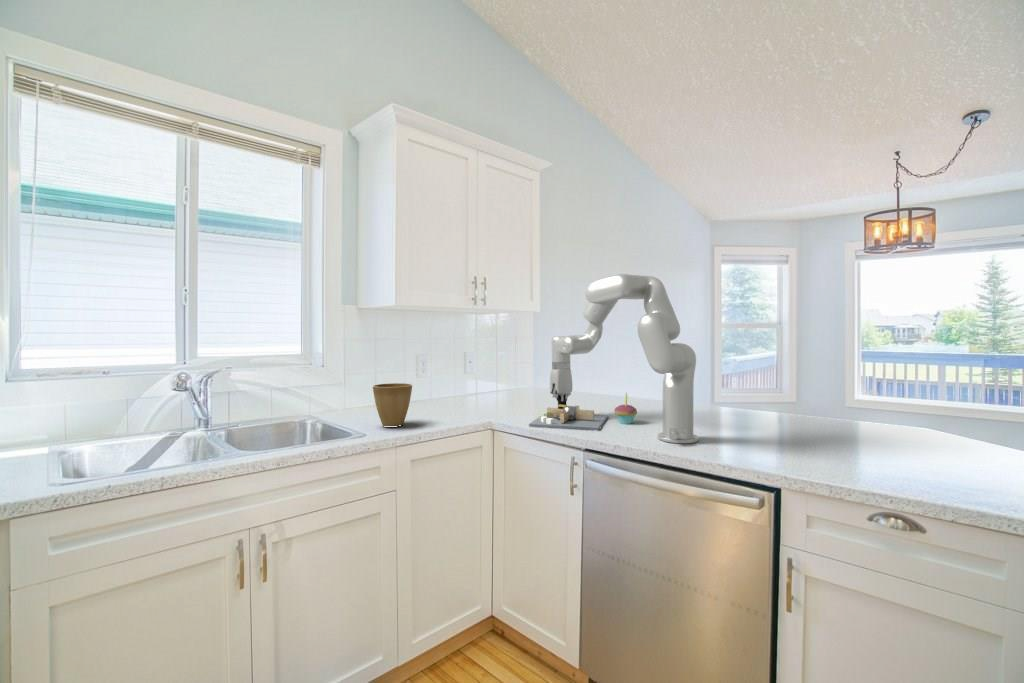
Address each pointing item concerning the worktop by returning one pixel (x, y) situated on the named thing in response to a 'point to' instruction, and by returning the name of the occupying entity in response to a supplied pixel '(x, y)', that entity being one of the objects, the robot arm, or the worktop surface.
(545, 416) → the stand
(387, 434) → the worktop surface
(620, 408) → the cupcake
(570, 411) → the tan cross shape
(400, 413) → the plant pot
